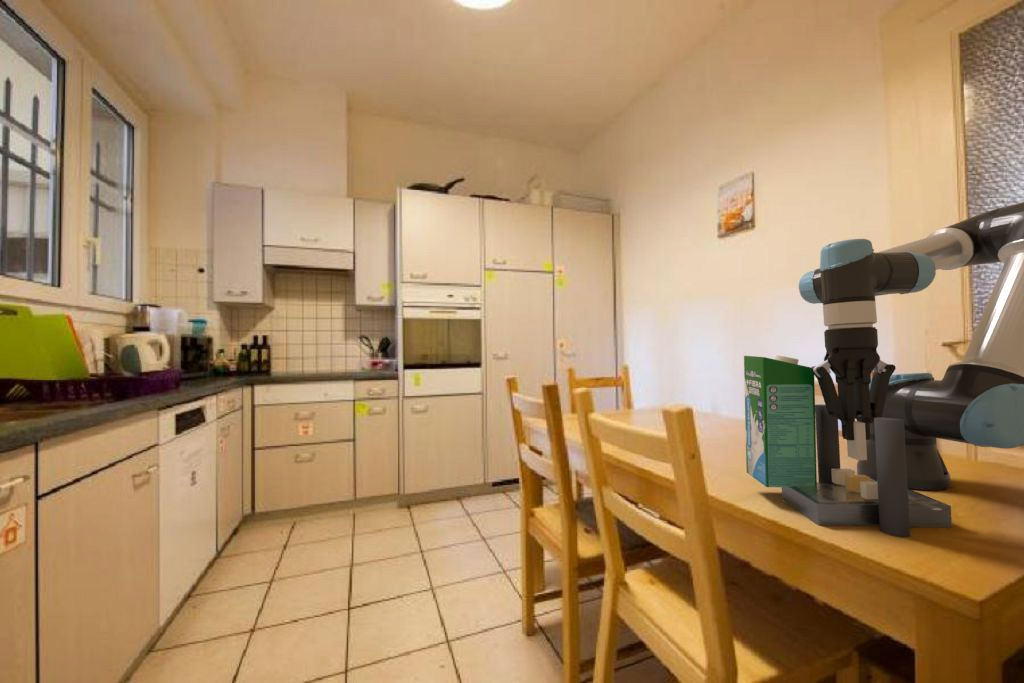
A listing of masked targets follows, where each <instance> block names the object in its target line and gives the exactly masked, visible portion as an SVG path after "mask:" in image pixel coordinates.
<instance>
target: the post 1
mask: <svg viewBox="0 0 1024 683" xmlns="http://www.w3.org/2000/svg"><path fill="white" fill-rule="evenodd" d="M815 428H816V459H817V474H818V476H817V478H818V479H817V480H818V482H832V472H831V469H841V457H840V456H841V455H840V453H841V452H840V436H839V432H840V431H839V419H836V418H833V417H830V416H829V414H828V411H827V408H826V405H825V403H824V404H822V403H821V404H815Z"/></svg>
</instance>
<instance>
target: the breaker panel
mask: <svg viewBox="0 0 1024 683" xmlns="http://www.w3.org/2000/svg"><path fill="white" fill-rule="evenodd" d="M870 482H877V481H875V480H873V479H870ZM781 496H782V497H781V499H782V501H783V500H784V501H785V502H784V501H783V502H784V503H786V504H787V503H788V504H787V505H788V506H790V507H791V508H793V509H795V510H796V511H797V512H798V513H800V514H802V515H803V516H805V517H806V518H807V519H809V520H810V521H812V522H813V523H815V524H816V525H817V526H838V527H839V526H840V527H841V526H843V527H844V526H845V527H846V526H847V527H880V523H879V504H878V499H865V498H863V497H861V491H849V490H847V489H846V485H845V484H835V483H833V482H819V481H817V486H794V487H789V488H784V487H781ZM908 505H909V523H910V528H948V529H949V528H953V523H952V519H953V518H952V506H951V505H950V504H948V503H945V502H943V501H940V500H938V499H935V498H932V497H930V496H927V495H926V494H923V493H920V492H917V491H915V490H914V489H910V488H908Z"/></svg>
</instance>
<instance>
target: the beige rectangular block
mask: <svg viewBox="0 0 1024 683" xmlns="http://www.w3.org/2000/svg"><path fill="white" fill-rule="evenodd" d="M860 489H861V497H863V498H865V499H878V485H877V482H860Z"/></svg>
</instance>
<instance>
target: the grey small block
mask: <svg viewBox="0 0 1024 683" xmlns="http://www.w3.org/2000/svg"><path fill="white" fill-rule="evenodd" d="M831 472H832V482H833V483H835V484H845V475H856V471H855V470H853V469H851V468H840V469H831Z"/></svg>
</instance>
